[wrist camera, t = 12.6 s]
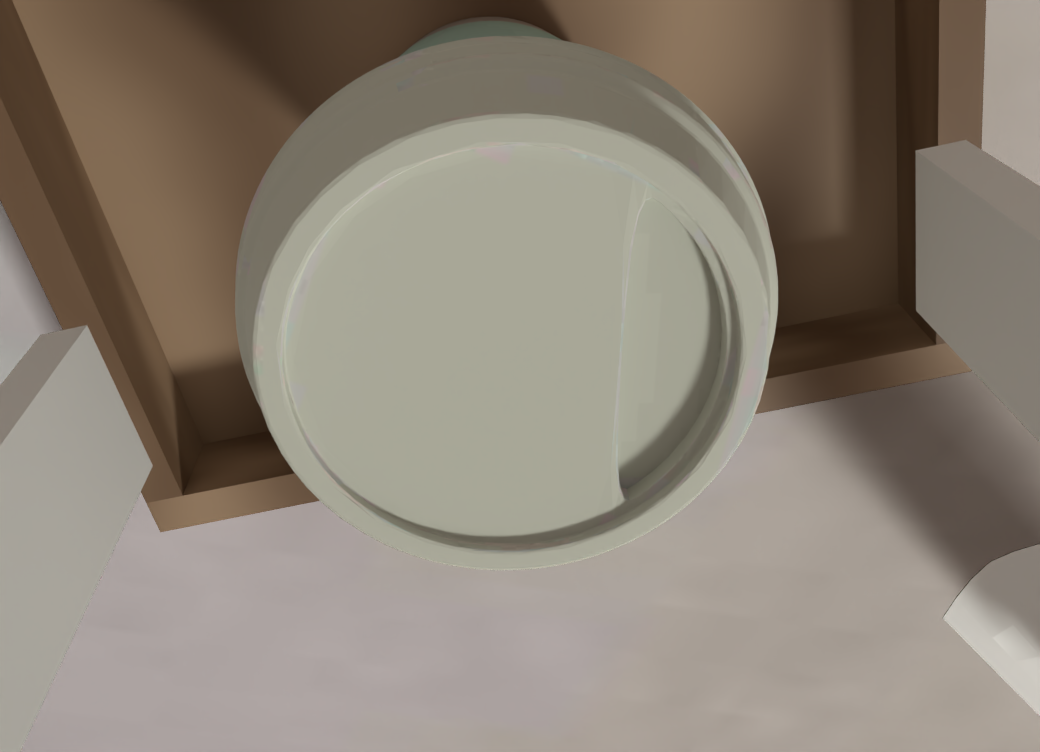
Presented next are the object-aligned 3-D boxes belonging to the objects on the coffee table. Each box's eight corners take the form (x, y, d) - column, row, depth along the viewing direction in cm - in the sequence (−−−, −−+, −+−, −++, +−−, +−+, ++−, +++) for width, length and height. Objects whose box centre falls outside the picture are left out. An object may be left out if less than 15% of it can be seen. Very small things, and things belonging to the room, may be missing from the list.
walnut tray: (190, 459, 30) (160, 532, 27) (-67, -122, 22) (-151, -112, 19) (919, 311, 29) (974, 370, 26) (920, -353, 21) (997, -381, 18)
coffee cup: (539, 347, 28) (589, 668, 17) (255, 191, 25) (112, 458, 15) (731, 82, 24) (936, 280, 14) (427, -129, 22) (399, -81, 11)
